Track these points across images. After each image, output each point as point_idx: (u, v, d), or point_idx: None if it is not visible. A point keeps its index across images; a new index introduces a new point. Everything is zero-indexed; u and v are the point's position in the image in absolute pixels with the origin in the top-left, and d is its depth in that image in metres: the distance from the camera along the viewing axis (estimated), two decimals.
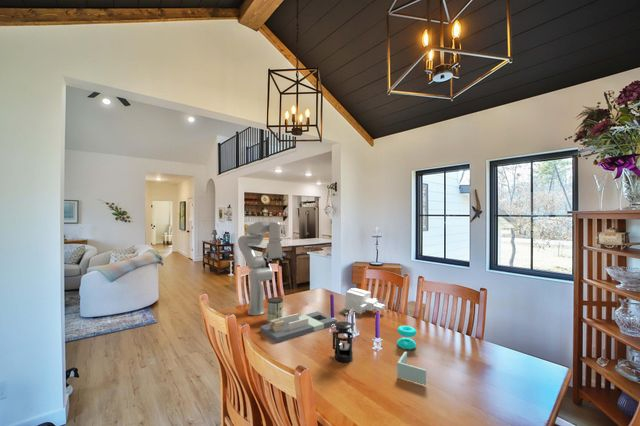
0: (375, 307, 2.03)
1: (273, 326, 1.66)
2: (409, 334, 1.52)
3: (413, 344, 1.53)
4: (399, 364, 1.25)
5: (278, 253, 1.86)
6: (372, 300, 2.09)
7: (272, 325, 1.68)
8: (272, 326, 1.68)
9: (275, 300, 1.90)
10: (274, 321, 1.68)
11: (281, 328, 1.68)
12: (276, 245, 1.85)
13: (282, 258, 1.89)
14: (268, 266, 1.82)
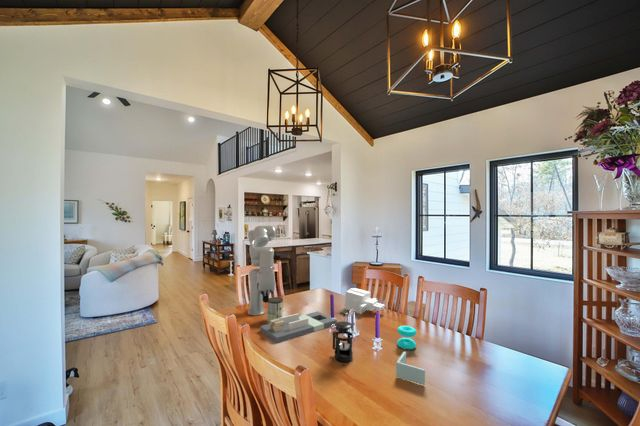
0: (375, 307, 2.03)
1: (273, 326, 1.66)
2: (409, 334, 1.52)
3: (413, 344, 1.53)
4: (398, 364, 1.25)
5: (270, 284, 1.64)
6: (372, 300, 2.10)
7: (272, 325, 1.68)
8: (272, 326, 1.68)
9: (275, 300, 1.90)
10: (274, 321, 1.68)
11: (281, 328, 1.68)
12: (268, 275, 1.62)
13: (268, 292, 1.64)
14: (266, 300, 1.62)
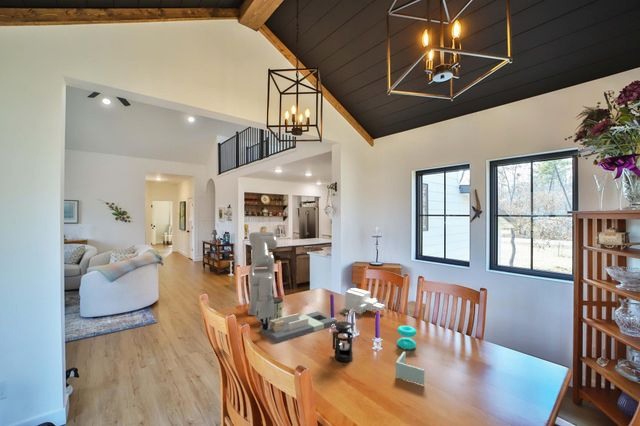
0: (375, 307, 2.03)
1: (273, 326, 1.66)
2: (409, 334, 1.52)
3: (413, 344, 1.53)
4: (398, 364, 1.26)
5: (270, 312, 1.63)
6: (372, 300, 2.10)
7: (272, 325, 1.68)
8: (272, 326, 1.68)
9: (275, 300, 1.90)
10: (274, 321, 1.68)
11: (281, 328, 1.68)
12: (267, 303, 1.62)
13: (268, 320, 1.64)
14: (265, 328, 1.62)
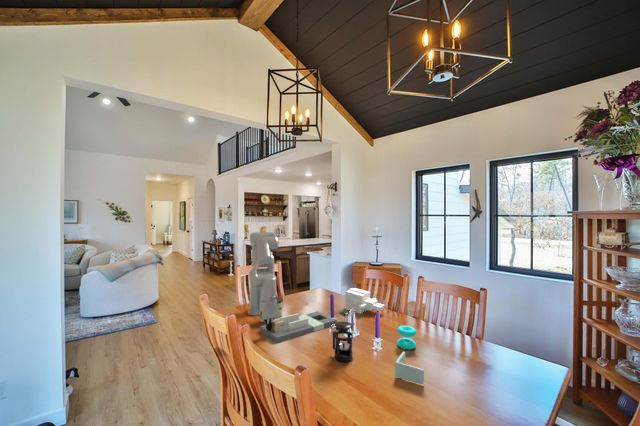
0: (375, 307, 2.03)
1: (273, 326, 1.66)
2: (409, 334, 1.52)
3: (413, 344, 1.53)
4: (397, 364, 1.26)
5: (273, 312, 1.65)
6: (372, 300, 2.10)
7: (272, 325, 1.68)
8: (272, 326, 1.68)
9: None
10: (274, 321, 1.68)
11: (281, 328, 1.68)
12: (271, 304, 1.64)
13: (271, 320, 1.65)
14: (269, 329, 1.64)
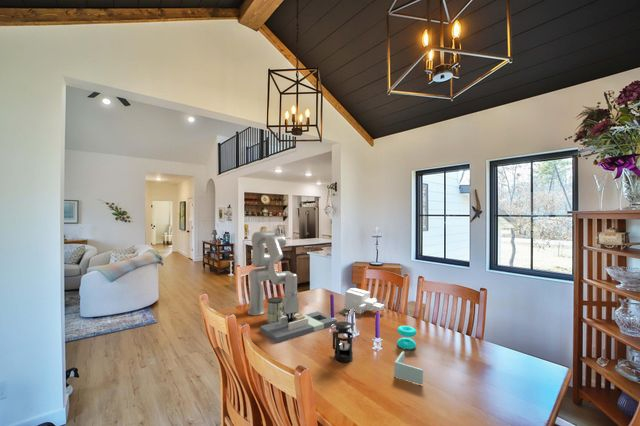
0: (374, 307, 2.03)
1: None
2: (409, 334, 1.52)
3: (413, 344, 1.53)
4: (396, 364, 1.26)
5: (295, 307, 1.74)
6: (371, 300, 2.10)
7: (293, 320, 1.76)
8: (293, 321, 1.76)
9: (275, 300, 1.90)
10: (295, 316, 1.77)
11: None
12: (293, 299, 1.73)
13: (293, 315, 1.75)
14: None
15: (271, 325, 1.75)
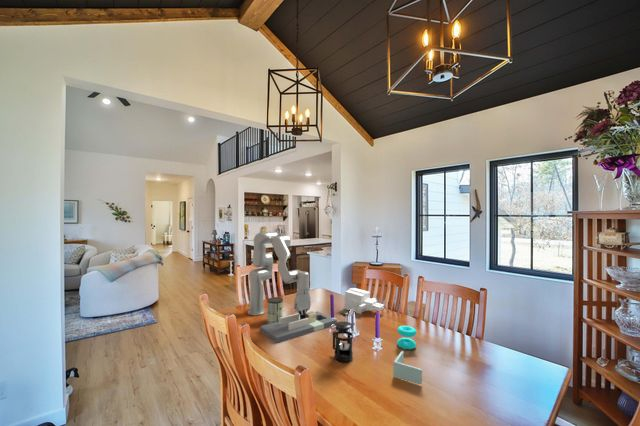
0: (374, 307, 2.03)
1: None
2: (409, 334, 1.52)
3: (413, 344, 1.53)
4: (395, 363, 1.26)
5: (307, 304, 1.80)
6: (371, 300, 2.10)
7: (305, 316, 1.82)
8: None
9: (275, 300, 1.90)
10: (307, 313, 1.83)
11: (314, 319, 1.82)
12: (305, 296, 1.79)
13: (305, 312, 1.80)
14: None
15: (271, 325, 1.75)
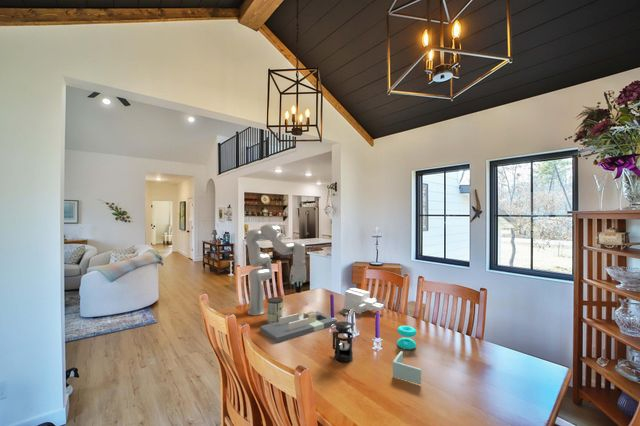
0: (374, 307, 2.04)
1: None
2: (409, 334, 1.52)
3: (413, 344, 1.53)
4: (394, 363, 1.26)
5: (303, 276, 1.79)
6: (371, 300, 2.10)
7: (305, 316, 1.82)
8: None
9: (275, 300, 1.90)
10: (307, 313, 1.83)
11: (314, 319, 1.82)
12: (301, 268, 1.78)
13: (301, 284, 1.79)
14: (298, 291, 1.78)
15: (271, 325, 1.75)
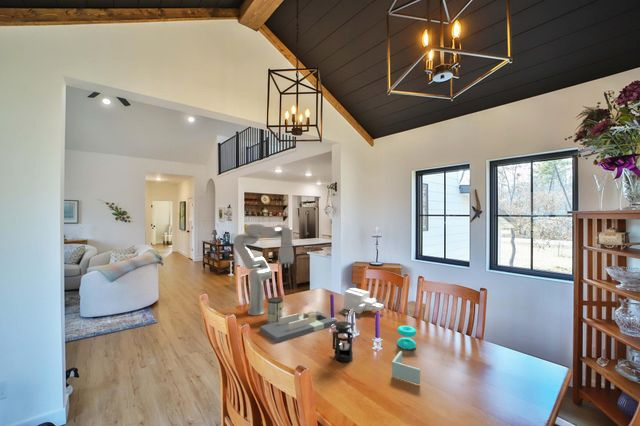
0: (374, 307, 2.04)
1: None
2: (409, 334, 1.52)
3: (413, 344, 1.53)
4: (394, 363, 1.26)
5: (290, 258, 1.90)
6: (371, 300, 2.10)
7: (305, 316, 1.82)
8: None
9: (275, 300, 1.90)
10: (307, 313, 1.83)
11: (314, 319, 1.82)
12: (288, 250, 1.89)
13: (288, 265, 1.90)
14: (286, 272, 1.89)
15: (271, 325, 1.75)
